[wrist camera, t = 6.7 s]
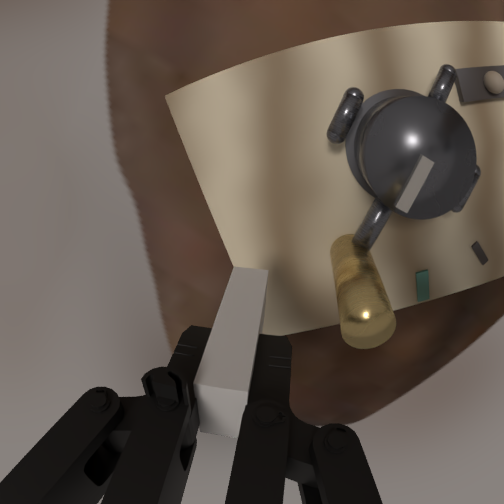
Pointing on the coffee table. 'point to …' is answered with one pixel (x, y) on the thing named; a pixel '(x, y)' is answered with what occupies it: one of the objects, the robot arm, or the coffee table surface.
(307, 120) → the lever board
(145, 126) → the coffee table surface
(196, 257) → the coffee table surface
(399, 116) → the grey round handled piece
